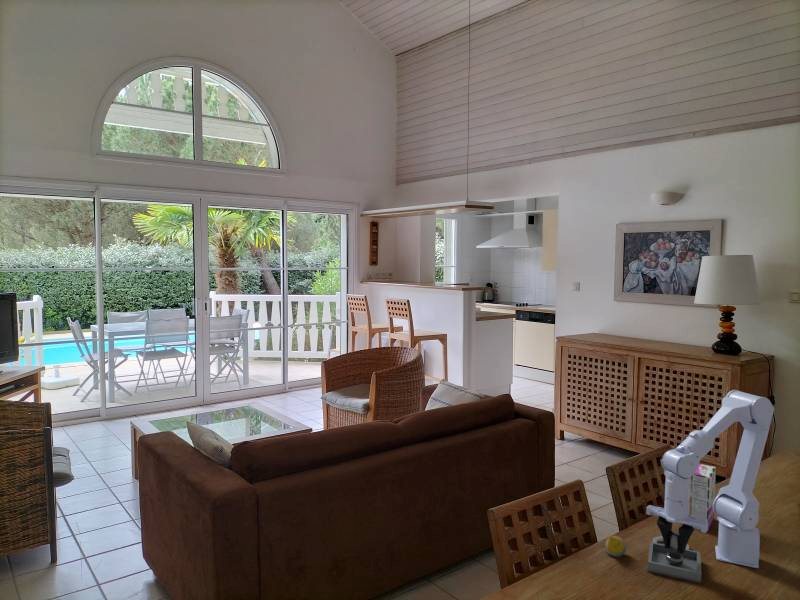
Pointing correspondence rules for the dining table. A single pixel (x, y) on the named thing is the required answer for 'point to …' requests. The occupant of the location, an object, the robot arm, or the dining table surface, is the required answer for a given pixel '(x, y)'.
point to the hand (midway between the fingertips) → (674, 549)
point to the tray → (684, 571)
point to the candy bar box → (703, 493)
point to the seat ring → (660, 539)
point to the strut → (674, 549)
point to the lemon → (615, 546)
